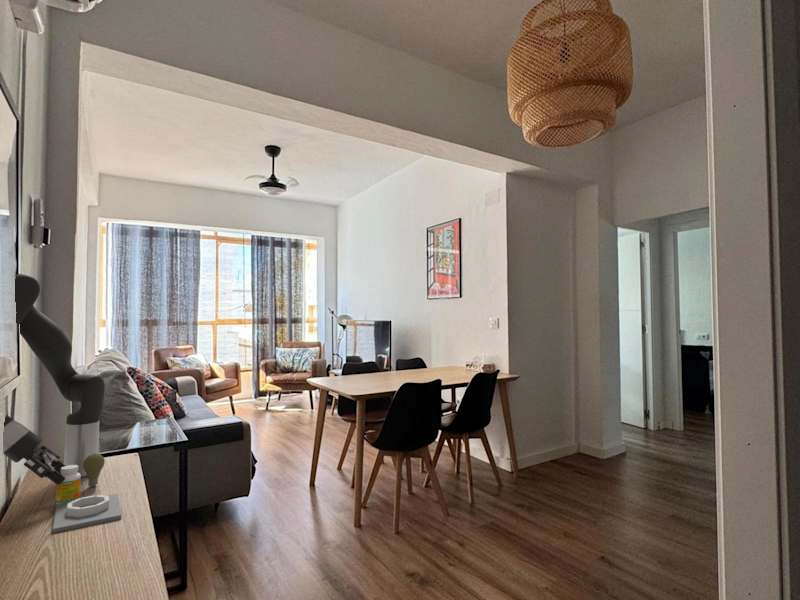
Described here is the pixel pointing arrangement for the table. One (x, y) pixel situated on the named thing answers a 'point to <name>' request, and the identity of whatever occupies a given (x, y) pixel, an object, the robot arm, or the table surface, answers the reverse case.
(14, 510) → the table surface
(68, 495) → the supplement bottle
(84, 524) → the collar plate
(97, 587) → the table surface
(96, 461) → the light bulb
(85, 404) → the robot arm
